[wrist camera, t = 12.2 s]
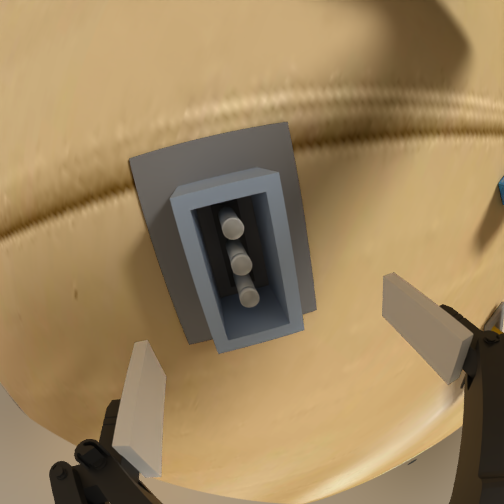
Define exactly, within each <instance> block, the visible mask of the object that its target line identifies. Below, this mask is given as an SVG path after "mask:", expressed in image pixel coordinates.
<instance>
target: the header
mask: <svg viewBox="0 0 504 504" xmlns="http://www.w3.org/2000/svg"><path fill="white" fill-rule="evenodd" d="M129 161H130V165H131V169H132V173H133V177H134V181H135V185H136V189H137V192H138V196H139V200H140V203H141V207H142V210H143V214H144V217H145V221H146V224H147V227H148V231H149V234H150V237H151V240H152V244H153V247H154V250H155V253H156V256H157V259H158V262H159V265H160V268H161V271H162V274H163V277H164V280H165V283H166V285H167V288H168V291H169V294H170V296H171V299H172V302H173V305H174V307H175V310H176V313H177V315H178V318H179V320H180V323H181V325H182V328H183V330H184V333H185V335H186V338H187V340H188V343H189V345H190V344H194V343H199V342H203V341H207V340H211V339H213V337H212V335H211V332H210V329H209V326H208V323H207V320H206V317H205V314H204V311H203V308H202V305H201V302H200V299H199V296H198V293H197V290H196V287H195V284H194V281H193V277H192V274H191V271H190V268H189V264H188V261H187V258H186V255H185V251H184V248H183V244H182V241H181V238H180V234H179V231H178V227H177V223H176V220H175V216H174V213H173V209H172V205H171V201H170V197H171V196H172V194H173V193H174V191H175V190H176V188H177V187H178V186H181V185H185V184H189V183H192V182H196V181H200V180H204V179H208V178H212V177H216V176H221V175H225V174H229V173H233V172H238V171H242V170H247V169H251V168H256V167H258V168H263V169H267V170H271V171H276V172H279V175H280V181H281V186H282V191H283V197H284V202H285V208H286V214H287V219H288V225H289V231H290V237H291V243H292V249H293V255H294V262H295V268H296V275H297V281H298V288H299V295H300V302H301V309H302V314H305V313H309V312H312V311H315V310H317V308H316V299H315V291H314V282H313V274H312V266H311V259H310V251H309V244H308V237H307V230H306V223H305V217H304V210H303V204H302V198H301V192H300V186H299V180H298V175H297V169H296V163H295V158H294V153H293V147H292V142H291V137H290V132H289V127H288V122H282V123H276V124H270V125H264V126H258V127H252V128H247V129H242V130H237V131H232V132H227V133H222V134H218V135H213V136H209V137H205V138H200V139H196V140H192V141H188V142H184V143H181V144H177V145H173V146H169V147H166V148H162V149H159V150H155V151H152V152H149V153H145V154H142V155H139V156H136V157H133V158H130V159H129ZM196 212H197V215H198V219H199V223H200V227H201V231H202V235H203V238H204V242H205V246H206V249H207V253H208V257H209V260H210V264H211V267H212V271H213V275H214V278H215V282H216V285H217V289H218V292H219V295H220V298H222V297H226V296H230V295H234V294H237V293H238V294H239V299H240V302H241V304H242V305H243V306H244V307H248V308H250V307H254V306H255V305H257V304H258V302H259V299H260V298H259V294H258V292H257V290H256V288H260V287H264V286H267V285H269V282H268V277H267V272H266V267H265V262H264V257H263V252H262V247H261V242H260V237H259V233H258V228H257V223H256V218H255V213H254V208H253V204H252V199H251V195H249V196H245V197H241V198H237V199H233V200H228V201H224V202H220V203H216V204H212V205H208V206H204V207H201V208H197V209H196Z"/></svg>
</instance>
